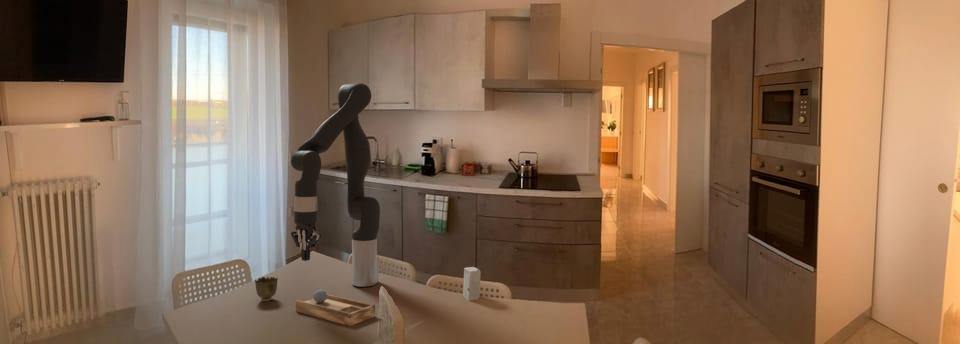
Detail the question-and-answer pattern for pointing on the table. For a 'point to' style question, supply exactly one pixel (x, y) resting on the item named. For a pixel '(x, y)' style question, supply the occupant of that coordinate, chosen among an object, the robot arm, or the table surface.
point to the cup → (266, 288)
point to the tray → (337, 310)
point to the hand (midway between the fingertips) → (305, 260)
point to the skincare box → (471, 283)
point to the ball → (320, 296)
